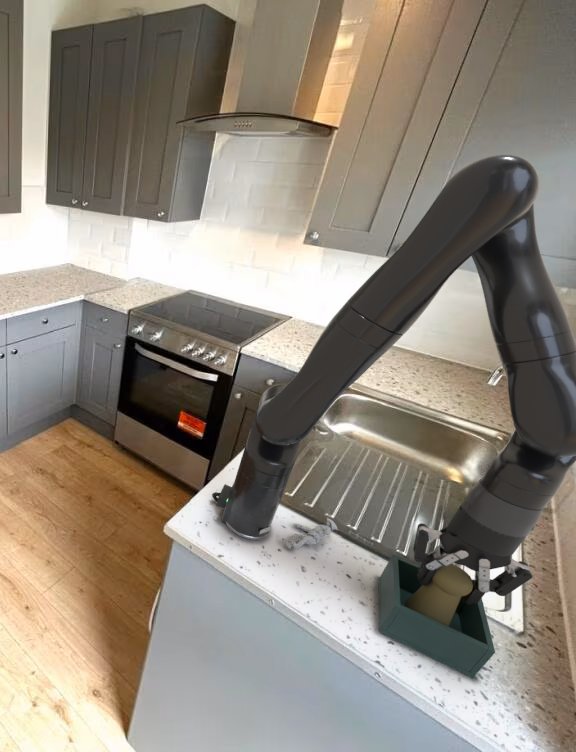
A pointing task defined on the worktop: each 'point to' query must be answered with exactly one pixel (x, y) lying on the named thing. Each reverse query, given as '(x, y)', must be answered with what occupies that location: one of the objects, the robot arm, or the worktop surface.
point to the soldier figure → (311, 534)
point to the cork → (441, 594)
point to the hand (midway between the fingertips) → (443, 590)
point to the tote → (432, 623)
